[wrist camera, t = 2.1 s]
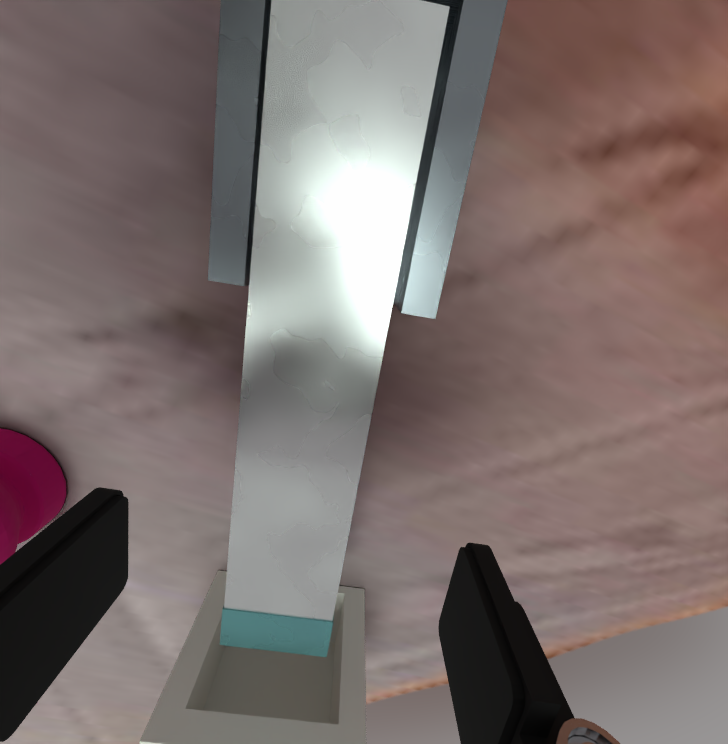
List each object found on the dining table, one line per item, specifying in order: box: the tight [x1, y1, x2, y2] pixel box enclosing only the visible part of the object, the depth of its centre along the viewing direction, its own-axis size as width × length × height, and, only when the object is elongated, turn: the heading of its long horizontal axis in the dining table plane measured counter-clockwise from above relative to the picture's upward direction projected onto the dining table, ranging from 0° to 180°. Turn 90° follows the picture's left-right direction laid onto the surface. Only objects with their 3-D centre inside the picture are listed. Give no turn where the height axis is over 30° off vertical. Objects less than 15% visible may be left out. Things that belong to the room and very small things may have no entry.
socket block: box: [140, 570, 366, 744], centre depth 19 cm, size 5×9×8 cm, turn 80°
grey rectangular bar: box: [220, 0, 450, 657], centre depth 15 cm, size 23×5×5 cm, turn 170°
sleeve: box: [208, 0, 507, 319], centre depth 14 cm, size 10×8×5 cm
